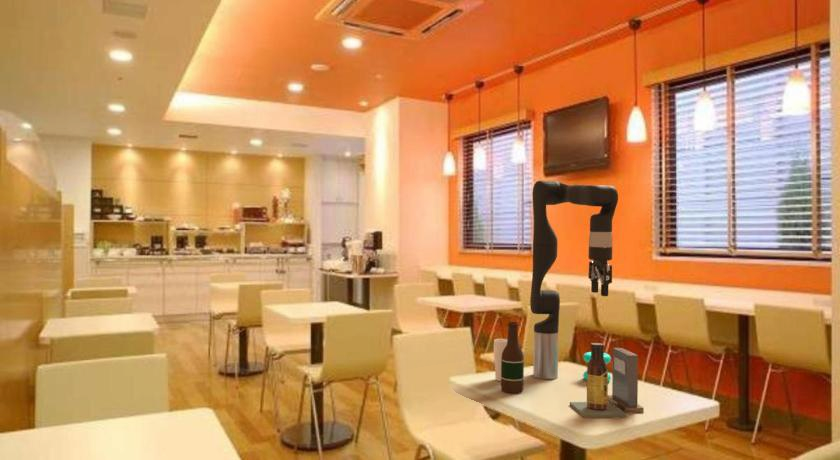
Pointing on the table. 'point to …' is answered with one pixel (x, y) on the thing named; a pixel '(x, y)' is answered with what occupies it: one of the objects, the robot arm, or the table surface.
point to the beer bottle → (512, 363)
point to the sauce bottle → (597, 379)
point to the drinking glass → (498, 356)
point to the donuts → (588, 357)
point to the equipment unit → (625, 381)
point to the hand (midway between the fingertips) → (599, 294)
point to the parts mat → (591, 413)
